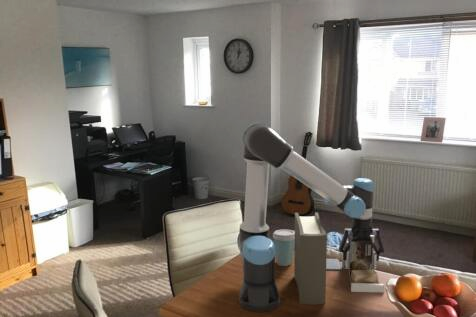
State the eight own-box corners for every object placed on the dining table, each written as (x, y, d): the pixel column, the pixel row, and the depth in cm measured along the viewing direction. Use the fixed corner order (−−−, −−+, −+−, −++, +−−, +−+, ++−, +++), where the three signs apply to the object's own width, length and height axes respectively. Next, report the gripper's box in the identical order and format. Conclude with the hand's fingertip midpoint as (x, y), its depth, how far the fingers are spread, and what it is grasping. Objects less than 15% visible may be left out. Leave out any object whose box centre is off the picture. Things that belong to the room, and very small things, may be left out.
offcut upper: (354, 282, 160) (354, 275, 160) (351, 276, 165) (351, 270, 164) (377, 281, 160) (378, 274, 160) (373, 275, 165) (373, 269, 164)
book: (325, 305, 150) (327, 234, 144) (299, 305, 150) (300, 234, 144) (316, 276, 171) (318, 212, 165) (294, 276, 171) (294, 212, 165)
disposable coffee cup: (269, 260, 187) (268, 228, 184) (290, 256, 190) (290, 225, 187) (278, 270, 177) (278, 237, 174) (300, 266, 180) (301, 234, 177)
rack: (350, 291, 158) (351, 255, 155) (341, 267, 178) (342, 234, 175) (384, 292, 157) (386, 255, 154) (372, 268, 177) (373, 235, 174)
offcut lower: (352, 289, 161) (352, 282, 160) (349, 283, 166) (350, 276, 165) (378, 289, 160) (379, 282, 160) (375, 283, 165) (375, 276, 164)
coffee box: (371, 272, 173) (372, 236, 170) (372, 279, 167) (373, 242, 164) (348, 270, 175) (349, 234, 172) (348, 277, 169) (350, 240, 166)
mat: (317, 269, 176) (317, 268, 176) (315, 259, 186) (315, 258, 186) (341, 270, 176) (341, 269, 175) (338, 260, 185) (338, 258, 185)
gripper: (334, 219, 163) (333, 271, 168) (394, 220, 161) (391, 272, 166) (332, 213, 171) (331, 263, 175) (389, 213, 169) (386, 264, 173)
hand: (360, 267), depth 170 cm, fingers open, 10 cm apart
